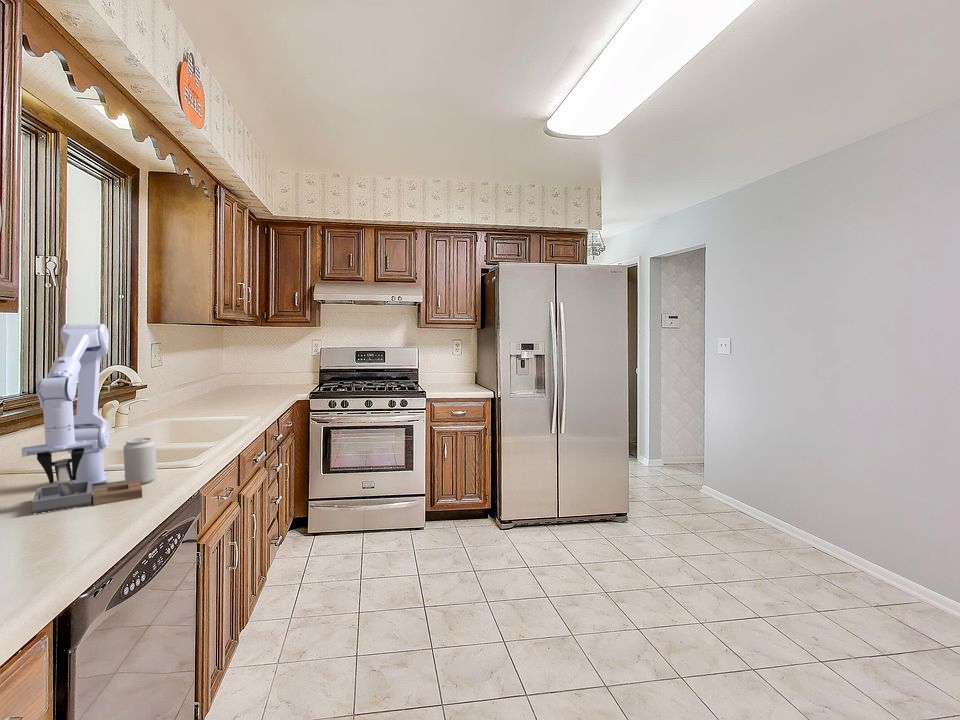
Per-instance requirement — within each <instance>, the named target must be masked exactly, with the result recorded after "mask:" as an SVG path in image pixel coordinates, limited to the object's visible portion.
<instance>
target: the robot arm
mask: <svg viewBox="0 0 960 720" xmlns="http://www.w3.org/2000/svg"><path fill="white" fill-rule="evenodd" d="M60 339H61V340H60V341H61V342H62V344H63V346H64V347H63V349H62V354H61V356H60V357H57V358H56V359H54V360H53V363H52V365H51V367H50V369H49V371H48V374H47V375H46V377H44V378H43V379H41V380H39V381H38V382H37V386H36V395H37V398H38V400H39V406H40V409H41V410H42V411H43V414H42V415H43V425H44V426H43V429H44V440H45V442H44V444H39V445H31V446H25V447H24V446H23V447H22V448H21V457H22V458H23V457H29V456H36V460H37V461H38V463H39V464H40V466H41V467H42V468H43V470H44V472H45V474H46V476H47V479H48V483H49V484H54V482H55V480H54V472H53V471H54V470H53V466H52V464H51V463H52V462H53V460H52V459H53V457H52V456H53V455H52V454H53V453H54V454H55V453H63V452H67V453H68V454H70V459H72V462H71V463H70V465H71V473H72V480H73V483H76V482H83V481H90V480H92V486H93V485H99V484H106V483H107V479H108V477H107V473H105V460H104V449H106V448H107V447H108V445H109V444H110V439H111V437H110V436H111V433H110V424H109V422H108V420H107V419H105V418H104V417H102V416H100V415H99V414H98V405H99V391H100V390H99V387H100V386H99V385H100V369H101V368H100V367H101V363H102V362H101V361H102V358H103V357H105V356H106V355H108V351H109V344H110V343H109V342H110V335H109V330H108V327H107V326H106V325H105V324H104V323H98V324H96V323H95V324H94V323H93V324H91V323H90V324H85V323H84V324H69V323H64V324H63V326H62V327H61V329H60ZM77 379H78V382H77ZM76 393H77V394H76ZM75 398H77V399H76V410H75V411H76V412H75V415H74V404H73V400H74V399H75Z"/></svg>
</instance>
